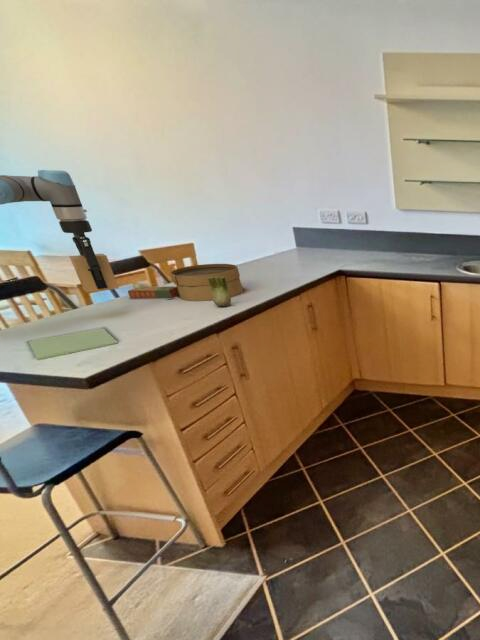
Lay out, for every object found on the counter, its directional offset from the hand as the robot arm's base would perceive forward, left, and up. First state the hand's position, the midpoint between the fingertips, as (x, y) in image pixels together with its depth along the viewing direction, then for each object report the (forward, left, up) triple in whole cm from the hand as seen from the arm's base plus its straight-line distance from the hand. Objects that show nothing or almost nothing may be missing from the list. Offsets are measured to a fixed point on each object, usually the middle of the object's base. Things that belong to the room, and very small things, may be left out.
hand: (100, 286), depth 154 cm
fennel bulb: (+17, +32, -11) cm, 38 cm away
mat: (+29, -15, -11) cm, 34 cm away
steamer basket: (-8, +36, -11) cm, 39 cm away
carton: (-18, +18, -11) cm, 28 cm away
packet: (0, 0, -1) cm, 1 cm away
